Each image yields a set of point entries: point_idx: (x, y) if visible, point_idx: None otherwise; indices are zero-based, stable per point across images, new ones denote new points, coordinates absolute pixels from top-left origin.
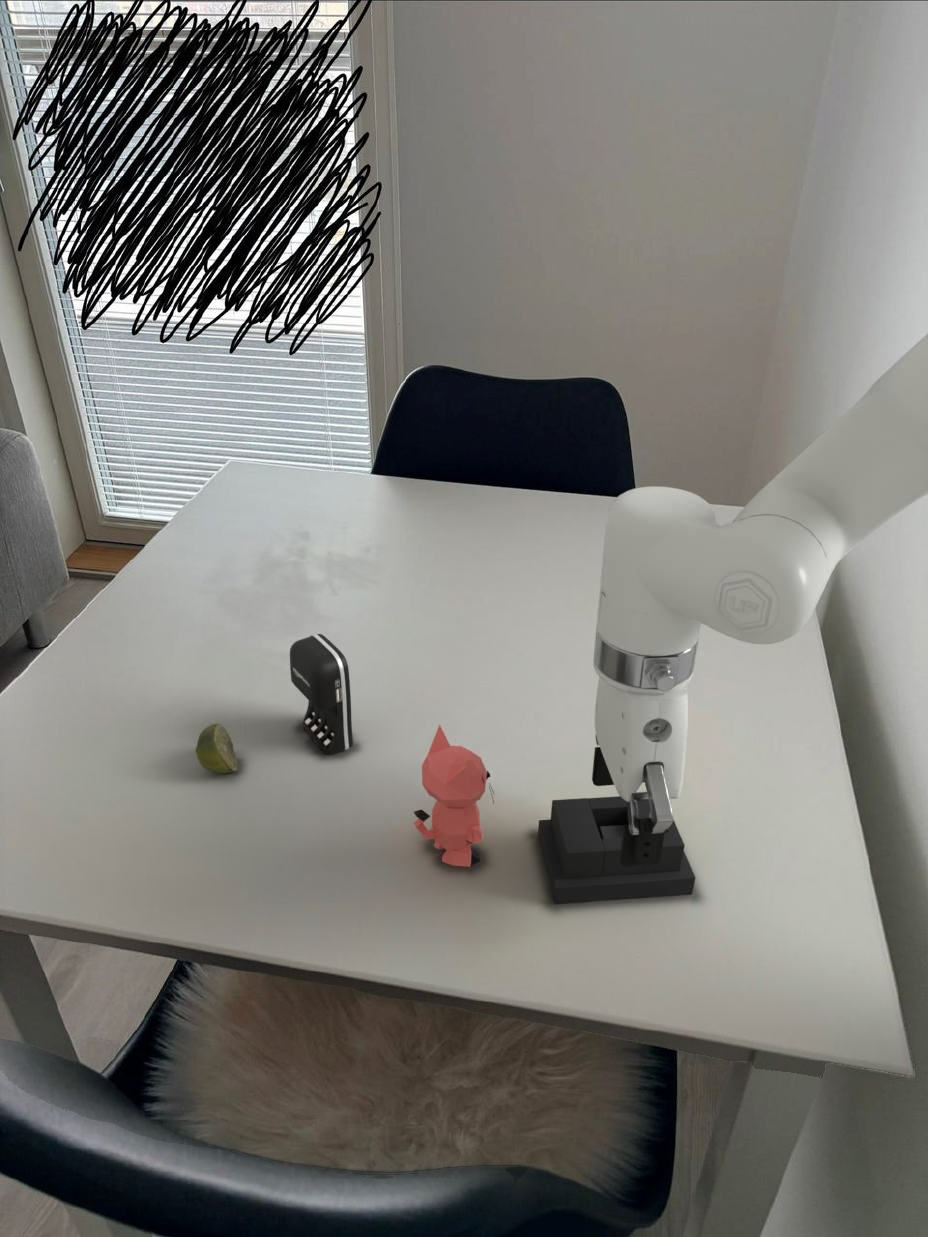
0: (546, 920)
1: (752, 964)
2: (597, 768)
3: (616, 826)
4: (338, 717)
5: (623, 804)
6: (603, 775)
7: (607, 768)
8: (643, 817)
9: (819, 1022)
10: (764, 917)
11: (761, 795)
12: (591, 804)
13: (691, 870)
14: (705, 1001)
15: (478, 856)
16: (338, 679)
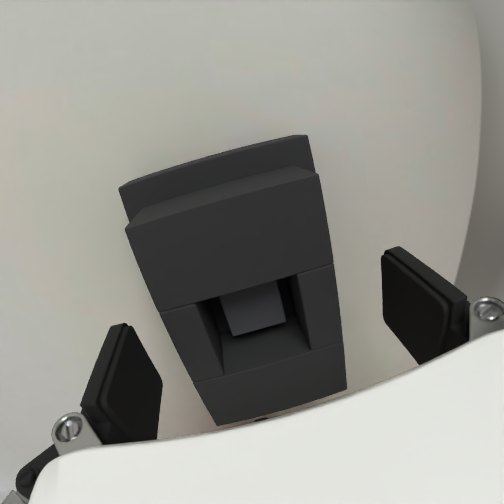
0: (355, 341)
1: (407, 73)
2: (156, 419)
3: (227, 308)
4: None
5: (193, 319)
6: (153, 392)
7: (145, 401)
8: (231, 275)
9: (456, 32)
10: (324, 28)
11: (29, 22)
12: (211, 376)
13: (290, 141)
14: (455, 151)
15: (260, 420)
16: None
